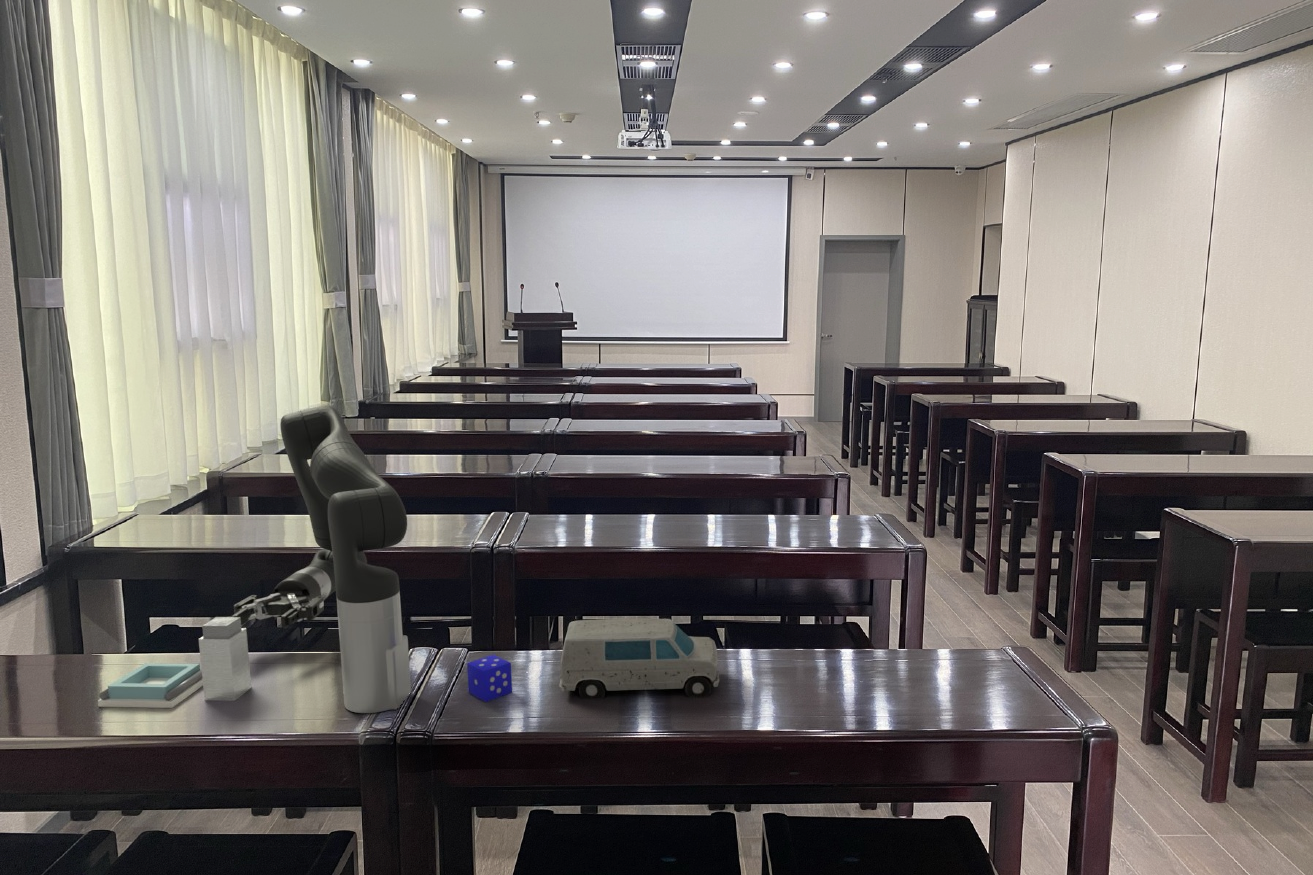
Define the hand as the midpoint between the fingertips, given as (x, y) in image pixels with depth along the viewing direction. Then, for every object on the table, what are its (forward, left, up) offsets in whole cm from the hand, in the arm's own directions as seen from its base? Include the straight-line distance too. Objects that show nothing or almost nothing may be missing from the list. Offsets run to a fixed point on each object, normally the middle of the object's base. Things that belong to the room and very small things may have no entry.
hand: (259, 622), depth 160 cm
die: (-42, +9, -8) cm, 44 cm away
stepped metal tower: (0, +11, -8) cm, 14 cm away
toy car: (-65, +6, -8) cm, 66 cm away
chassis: (+12, +11, -8) cm, 18 cm away
